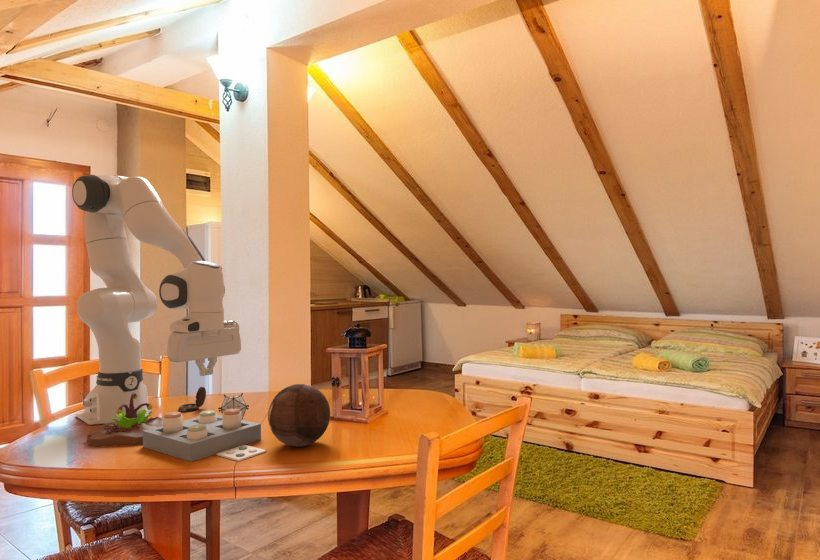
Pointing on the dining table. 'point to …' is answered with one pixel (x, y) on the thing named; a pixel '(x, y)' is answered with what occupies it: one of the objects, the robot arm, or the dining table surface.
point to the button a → (172, 422)
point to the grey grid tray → (203, 447)
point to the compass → (199, 401)
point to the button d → (231, 419)
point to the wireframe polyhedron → (234, 404)
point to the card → (241, 452)
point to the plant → (125, 427)
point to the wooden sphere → (299, 415)
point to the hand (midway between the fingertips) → (206, 375)
